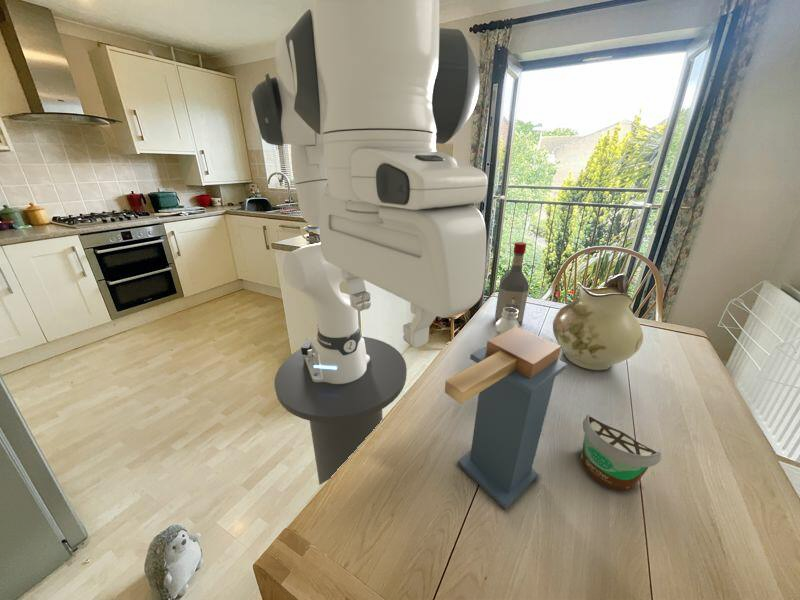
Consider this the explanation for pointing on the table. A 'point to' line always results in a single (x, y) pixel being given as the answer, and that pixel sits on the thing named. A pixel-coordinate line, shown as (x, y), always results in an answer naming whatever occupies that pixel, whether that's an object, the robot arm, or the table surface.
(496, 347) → the mallet
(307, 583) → the table surface
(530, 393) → the pedestal stand
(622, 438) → the food container
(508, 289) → the liquor
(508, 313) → the plastic bottle
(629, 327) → the pitcher
